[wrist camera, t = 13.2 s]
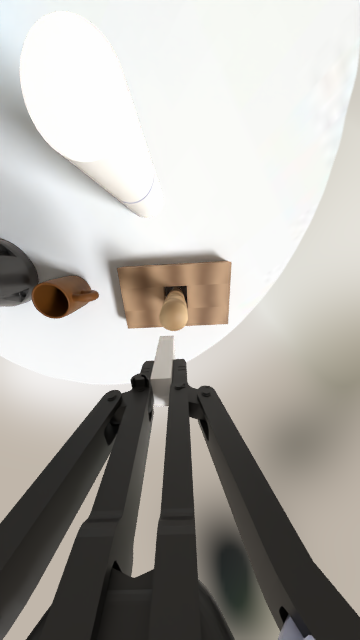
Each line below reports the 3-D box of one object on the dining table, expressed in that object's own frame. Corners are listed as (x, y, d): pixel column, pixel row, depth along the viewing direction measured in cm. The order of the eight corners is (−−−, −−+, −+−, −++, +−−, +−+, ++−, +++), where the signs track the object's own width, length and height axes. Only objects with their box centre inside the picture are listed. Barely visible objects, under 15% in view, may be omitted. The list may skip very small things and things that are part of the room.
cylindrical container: (145, 226, 37) (83, 185, 14) (120, 195, 35) (-2, 85, 11) (170, 200, 35) (149, 105, 12) (146, 166, 33) (63, -31, 10)
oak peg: (167, 303, 43) (160, 331, 28) (166, 285, 41) (157, 304, 27) (185, 302, 43) (188, 330, 28) (185, 284, 41) (187, 303, 27)
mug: (106, 272, 40) (86, 278, 32) (113, 303, 43) (96, 317, 35) (57, 275, 41) (23, 283, 32) (67, 306, 44) (38, 320, 35)
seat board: (132, 322, 45) (128, 328, 41) (122, 266, 40) (116, 268, 36) (223, 317, 45) (227, 323, 41) (226, 260, 39) (231, 262, 36)
